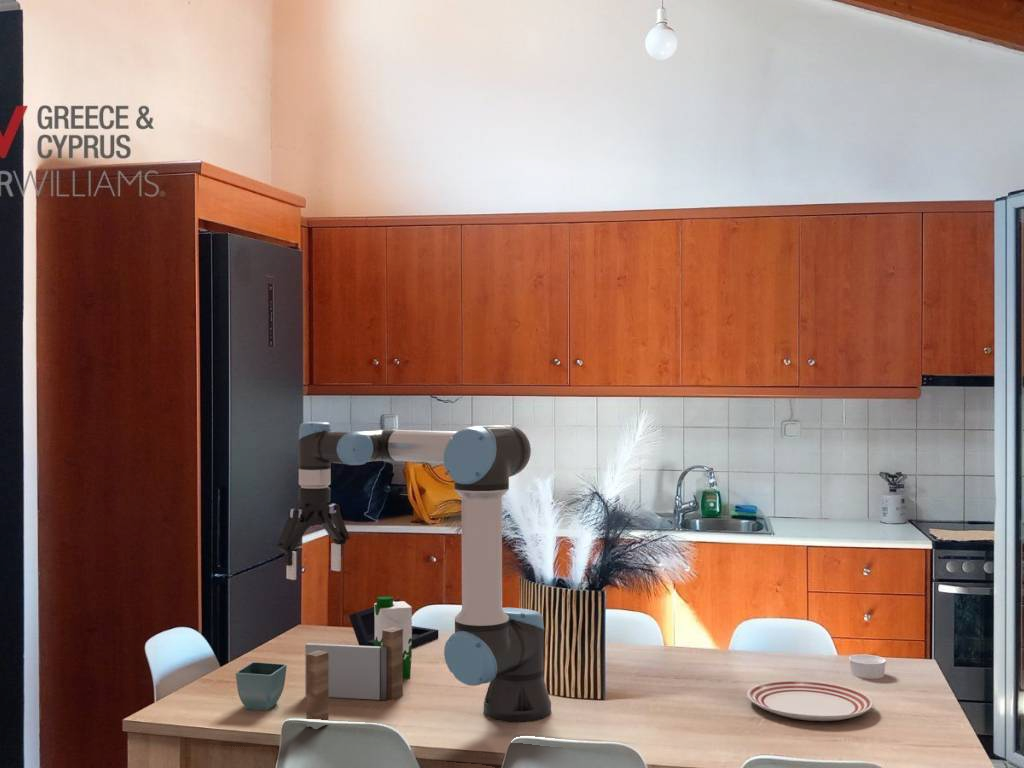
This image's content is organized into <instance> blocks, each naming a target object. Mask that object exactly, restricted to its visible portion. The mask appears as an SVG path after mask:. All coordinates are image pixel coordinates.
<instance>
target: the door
mask: <svg viewBox="0 0 1024 768" xmlns="http://www.w3.org/2000/svg"><path fill="white" fill-rule="evenodd" d="M304 647H305V650H304V652H305V655H304V656H305V658H304V659H305V660H304V661H305V662H304V663H305V665H304V666H305V670H304V671H305V672H304V674H305V676H304V677H305V682H304V684H305V688H304V689H305V690H304V691H305V693H304V694H305V697H306V654H308V653H311V652H314V651H318V650H320V651H325V652H329V698H339V699H340V698H341V699H343V698H344V699H357V700H358V699H361V700H375V701H376V700H378V701H379V700H381V701H385V700H388V699H387V647H378V646H359V645H356V644H355V645H354V644H353V645H352V644H350V645H349V644H333V643H316V642H315V643H313V642H307V643H305V646H304Z"/></svg>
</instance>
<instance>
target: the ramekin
mask: <svg viewBox="0 0 1024 768" xmlns="http://www.w3.org/2000/svg"><path fill="white" fill-rule="evenodd" d="M848 660H849V665H850V667H849V668H850V674H851V675H852V676H855V677H857V678H859V679H860V678H861V679H870V680H871V679H872V680H876V679H882V678H884V677H885V669H886V665H887V660H886V658H884V657H881V656H880V655H879V656H878V655H874V654H864V653H863V654H851V655H850V656H849V657H848Z"/></svg>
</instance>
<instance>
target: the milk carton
mask: <svg viewBox="0 0 1024 768" xmlns="http://www.w3.org/2000/svg"><path fill="white" fill-rule="evenodd" d="M393 600H394V597H393V596H390V595H382V596H377V597H376V602H375V603H374V604H373V605H374V606H373V607H374V616H375V646H378V647H382V630H385V629H389V628H392V627H395V628H401V629H403V680H405V679H406V680H407V679H411V672H412V671H411V670H412V659H413V658H412V655H413V652H412V651H413V650H412V649H413V648H412V626H413V622H412V620H413V619H412V618H413V617H412V616H413V615H412V612H413V610H412V609H413V608H412V606H411V605H410V604H408V603H407V602H406V601H405V600H404V601H403V600H400V601H399V602H394V601H393Z"/></svg>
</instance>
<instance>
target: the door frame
mask: <svg viewBox="0 0 1024 768" xmlns="http://www.w3.org/2000/svg"><path fill="white" fill-rule="evenodd" d="M382 647H387V699H386V700H390V701H394V700H396V699H398V698H400V697H403V695H404V694H403V693H404V692H403V691H404V690H403V689H404V688H403V686H404V684H403V681H404V679H403V629H401V628H395V627H392V628H389V629H385V630H382ZM329 698H330V697H329V652H325V651H320V650H318V651H314V652H311V653H308V654H306V696H305V699H306V700H305V701H306V702H305V703H306V705H305V706H306V709H305V710H306V711H305V712H306V715H305V716H306V717H305V718H306V719H321V720H329V719H330V718H329V717H330V716H329V715H330V714H329V712H330V711H329Z"/></svg>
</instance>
